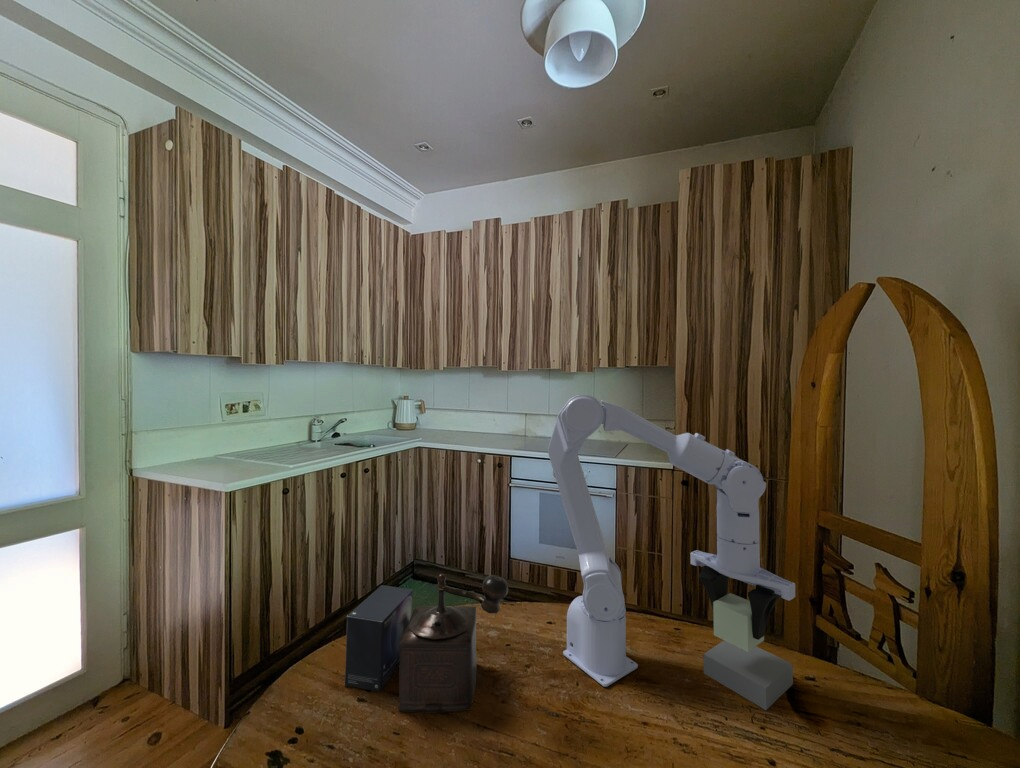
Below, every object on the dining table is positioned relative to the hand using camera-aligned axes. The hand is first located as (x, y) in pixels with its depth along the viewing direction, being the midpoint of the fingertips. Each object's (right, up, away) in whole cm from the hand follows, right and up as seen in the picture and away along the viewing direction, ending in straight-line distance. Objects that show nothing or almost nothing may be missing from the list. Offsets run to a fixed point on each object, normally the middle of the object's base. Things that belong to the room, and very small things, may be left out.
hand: (739, 627), depth 61 cm
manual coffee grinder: (-43, -9, -1) cm, 44 cm away
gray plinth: (+2, -9, +1) cm, 9 cm away
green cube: (0, -2, 0) cm, 2 cm away
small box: (-56, -9, +3) cm, 57 cm away
